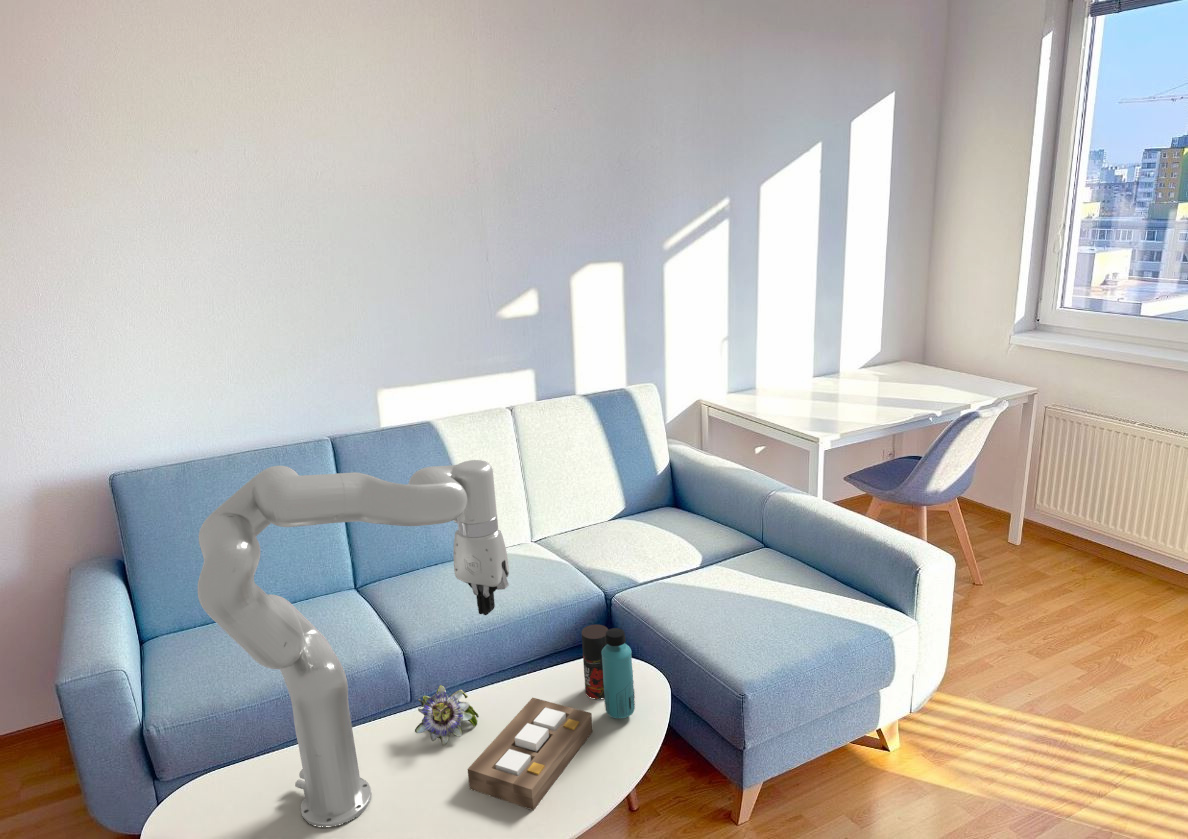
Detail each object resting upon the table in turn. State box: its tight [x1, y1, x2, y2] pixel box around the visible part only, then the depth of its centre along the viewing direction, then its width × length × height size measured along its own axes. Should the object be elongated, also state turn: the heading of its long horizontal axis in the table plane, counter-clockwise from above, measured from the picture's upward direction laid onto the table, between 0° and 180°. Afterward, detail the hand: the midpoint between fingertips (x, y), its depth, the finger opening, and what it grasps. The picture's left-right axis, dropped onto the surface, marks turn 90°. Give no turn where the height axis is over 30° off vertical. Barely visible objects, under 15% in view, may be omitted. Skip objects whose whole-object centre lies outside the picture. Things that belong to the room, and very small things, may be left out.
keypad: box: [467, 697, 594, 811], centre depth 164 cm, size 14×24×5 cm, turn 153°
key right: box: [533, 708, 566, 731], centre depth 170 cm, size 5×5×2 cm
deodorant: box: [580, 624, 609, 700], centre depth 183 cm, size 6×6×15 cm
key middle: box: [515, 723, 549, 752], centre depth 163 cm, size 5×5×2 cm
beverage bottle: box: [601, 627, 636, 719], centre depth 174 cm, size 6×7×20 cm
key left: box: [496, 749, 531, 777], centre depth 158 cm, size 5×5×2 cm
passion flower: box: [414, 684, 479, 746], centre depth 174 cm, size 11×11×12 cm
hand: (486, 611), depth 163 cm, fingers closed
